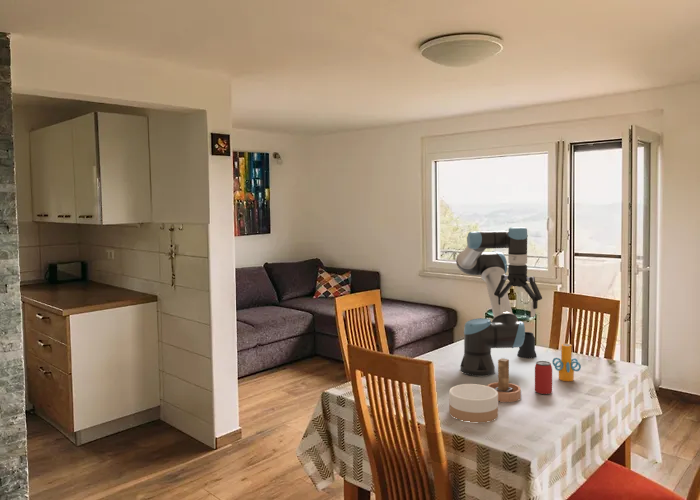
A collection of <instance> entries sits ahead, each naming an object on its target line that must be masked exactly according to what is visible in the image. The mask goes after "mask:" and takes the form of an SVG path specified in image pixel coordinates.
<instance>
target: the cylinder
mask: <svg viewBox="0 0 700 500" xmlns="http://www.w3.org/2000/svg"><path fill="white" fill-rule="evenodd" d="M572 345H573V344H571V343H562V344H561V351H560V352H561V357H560V358H561V359H560V358H559V357H554V358H553V359H552V363H551V364H552V365H553V366H554V369H555V370H556V371H558V380H560V381H561V382H562V381H563V382H573V381H574V380H575V379H574V377H575V374H574V373H575V372H579V371H581V368H582V367H581V364H580V362H579V361H578V359H577V358H572V356H573V355H572V352H573V351H572V349H573V348H572V347H573V346H572ZM556 360H557V361H556ZM555 361H556V362H555ZM558 364H559V365H558ZM574 364H575V365H574ZM573 365H574V366H573ZM577 367H578V368H577Z"/></svg>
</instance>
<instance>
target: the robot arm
mask: <svg viewBox="0 0 700 500" xmlns="http://www.w3.org/2000/svg"><path fill="white" fill-rule="evenodd" d="M528 236H529V235H528V228H526V226H525V227H524V226H523V227H522V226H513V227H512V226H511V227H509V228H508V229H506V230H490V231H489V230H481V231H478V230H475V231H470V232H468V233H467V237H466V244H467V245H466V246H465V248H464V250H462V251H461V252H459V253H458V255H457V256H456V266H457V268H458V269H459V270H460V271H461V272H462V273H464V274H466V275H469V276H480V278H481V280H482V281H484V282H485V284H486V289H487V294H488V297H489V303H490V306H491V311H492V314H493V319H489V318H486V317H485V318H482V317H479V318H473V319H469V320H467V321H466V322H465V323H464V326H463V327H464V329H463V338H464V339H463V343H464V344H463V345H464V347H463V348H464V349H463V350H464V354H463V357H462V359H461V363H460V366H459V367H460V370H459V371H460V372H461V373H462V372H463V374H465V375H468V376H473V377H474V376H476V377H485V376H492V375H493V374H495V372H496V369H495V363H494V360H493V357H492V355H491V354H492V349H510V348H511V349H514V348H516V349H517V348H519V347H521V346H522V345H523V343H524V338H525V332H526V327H525V323H524V322H523V321H521V320H518V316H517V315H516V314H514V313H513V310H512V305H511V302H510V299H509V295H508V291H509V290H510V289H511V287H518V288H522V289H524V291H525V292H526V293H527V295H528V296H529V297H530V299H531V301H530V318H534V317H536V310H537V309H538V301H541V300H543V295H541V292H540V290H539V288H538V285H537V283H536V279H535V278H536V277H535V276H528V265H527V264H528ZM486 249H487V250H488V249H489V250H490V249H508V253H507V254H508V255H507V256H508V257H507V258H508V259H507V258H506V256H505V254H504V253H503V252H501V251H494V250H492V251H486ZM507 260H508V262H507ZM507 272H508V274H507ZM507 280H508V283H507V284H505V283H506V281H507ZM527 281H528V282H529V284H528V283H527ZM529 285H530V286H529Z"/></svg>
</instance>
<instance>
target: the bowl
mask: <svg viewBox="0 0 700 500" xmlns="http://www.w3.org/2000/svg"><path fill="white" fill-rule="evenodd" d="M448 392H449V393H448V395H449V396H448V397H449V399H448V400H449V403H448V404H449V415H450V414H451V415H452V416H453V417H455V418H457V419H460V420H463V421H462V422H464V421H470V422H485V423H488V422H487V421H490V422H493V421H495V420H496V419H497V418H498V415H499V401H498V392H497V391H496V390H495V389H493V388H491V387H488V386H487V385H483V384H479V383H477V384H476V383H461V384H457V385H454V386H452V387H450V389H449V391H448ZM451 415H450V416H451ZM452 416H451V417H452ZM453 417H452V418H453ZM455 418H454V419H455ZM457 419H456V420H457ZM494 419H495V420H494ZM460 420H459V421H460ZM492 420H493V421H492Z"/></svg>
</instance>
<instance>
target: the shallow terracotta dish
mask: <svg viewBox="0 0 700 500" xmlns="http://www.w3.org/2000/svg"><path fill="white" fill-rule="evenodd" d="M486 386H488V387H491V388H493V389H495V388H497V387H498V381H497V382H496V381H495V382H490V383H489V384H487V385H486ZM509 387H510V388H513V392H509V393H508V392H498V391H497V392H498V402H499V401H500V402H499V403H501V402H502V403H513V402H518V401H519V400H521V399H522V395H521V394H522V391H521V386H520V385H517V384H516V383H510V382H509Z"/></svg>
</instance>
